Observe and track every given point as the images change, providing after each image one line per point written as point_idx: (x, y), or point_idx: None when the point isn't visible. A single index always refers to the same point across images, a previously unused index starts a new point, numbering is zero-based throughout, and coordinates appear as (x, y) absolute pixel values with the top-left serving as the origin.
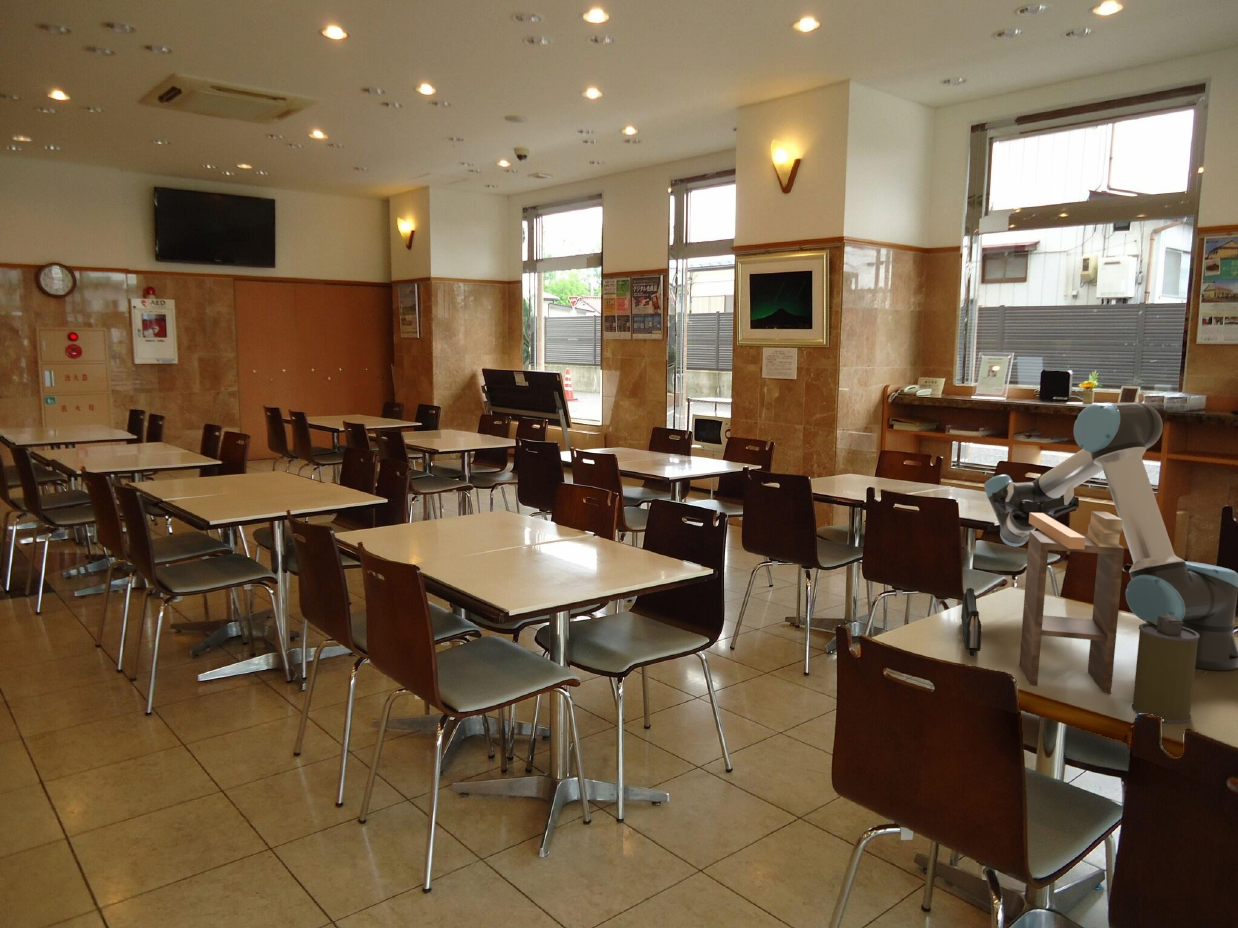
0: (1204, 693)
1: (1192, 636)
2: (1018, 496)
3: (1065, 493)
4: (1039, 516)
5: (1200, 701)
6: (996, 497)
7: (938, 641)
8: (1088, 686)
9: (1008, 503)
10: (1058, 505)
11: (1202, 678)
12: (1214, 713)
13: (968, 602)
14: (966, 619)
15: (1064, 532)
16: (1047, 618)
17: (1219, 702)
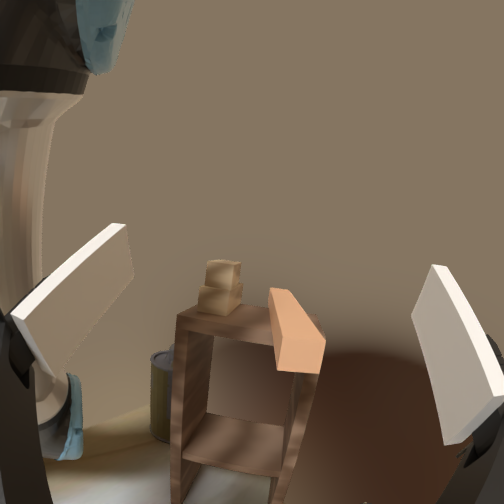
0: (87, 442)
1: (161, 355)
2: None
3: (57, 295)
4: (304, 323)
5: (111, 435)
6: None
7: None
8: (208, 475)
9: (446, 487)
10: (31, 426)
11: (46, 459)
12: (124, 421)
13: None
14: None
15: (289, 293)
16: (258, 457)
17: (95, 430)
